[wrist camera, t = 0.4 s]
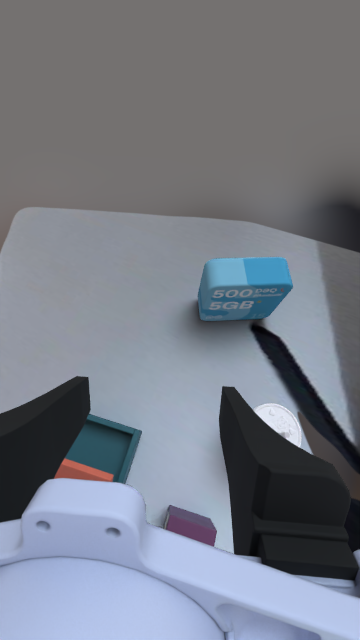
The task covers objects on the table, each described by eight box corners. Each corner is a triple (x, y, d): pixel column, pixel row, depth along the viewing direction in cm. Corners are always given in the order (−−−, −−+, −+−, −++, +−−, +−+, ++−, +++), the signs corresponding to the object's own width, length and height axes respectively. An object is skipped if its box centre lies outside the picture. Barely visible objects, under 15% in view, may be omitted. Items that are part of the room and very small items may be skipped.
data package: (198, 321, 47) (208, 286, 36) (196, 298, 48) (205, 257, 37) (267, 319, 48) (297, 283, 37) (262, 296, 49) (290, 255, 38)
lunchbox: (69, 407, 40) (60, 404, 37) (142, 431, 40) (140, 430, 36) (23, 511, 35) (7, 519, 32) (106, 541, 34) (99, 552, 31)
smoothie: (220, 432, 40) (245, 430, 27) (247, 400, 42) (283, 384, 29) (254, 467, 38) (298, 483, 25) (280, 432, 40) (334, 430, 27)
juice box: (202, 559, 34) (208, 578, 29) (158, 544, 34) (157, 560, 30) (210, 518, 36) (217, 530, 31) (169, 504, 36) (169, 514, 32)
